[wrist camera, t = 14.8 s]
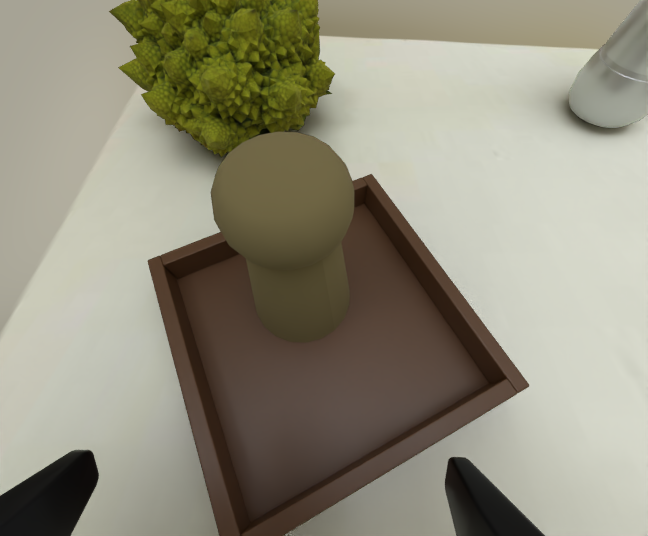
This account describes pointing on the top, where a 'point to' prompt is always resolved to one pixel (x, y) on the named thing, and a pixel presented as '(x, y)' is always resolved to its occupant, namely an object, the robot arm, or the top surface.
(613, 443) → the top surface
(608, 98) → the plastic bottle
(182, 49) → the vegetable
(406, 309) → the tray
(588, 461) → the top surface
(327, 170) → the cork
